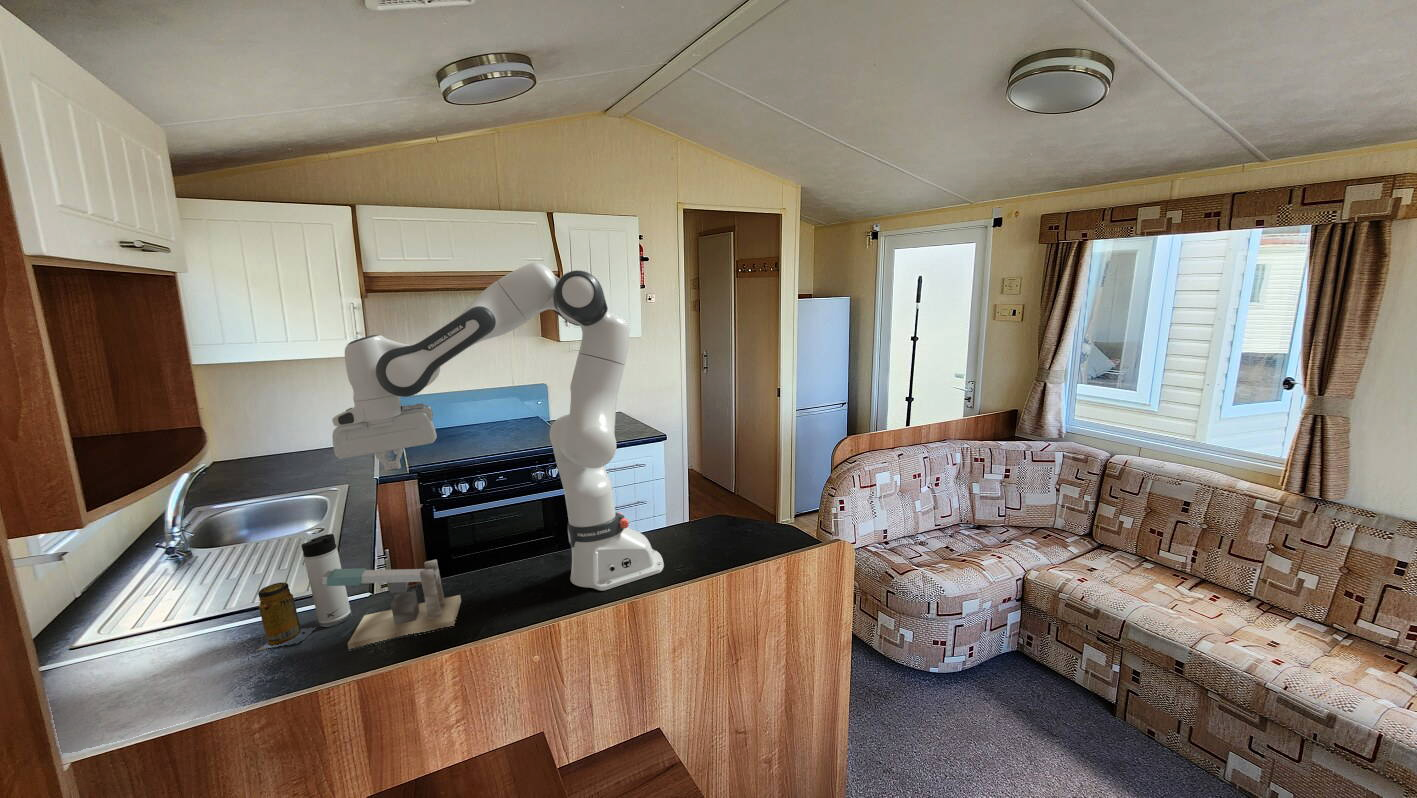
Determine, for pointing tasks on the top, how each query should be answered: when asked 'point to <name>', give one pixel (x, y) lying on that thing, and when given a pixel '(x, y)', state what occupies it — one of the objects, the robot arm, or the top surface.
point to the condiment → (278, 614)
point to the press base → (391, 630)
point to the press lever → (375, 577)
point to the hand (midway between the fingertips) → (393, 469)
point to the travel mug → (319, 561)
